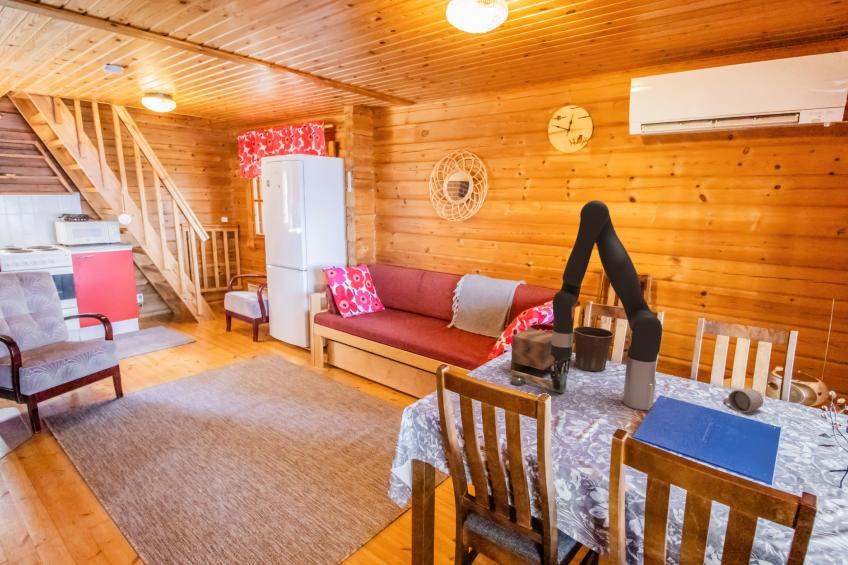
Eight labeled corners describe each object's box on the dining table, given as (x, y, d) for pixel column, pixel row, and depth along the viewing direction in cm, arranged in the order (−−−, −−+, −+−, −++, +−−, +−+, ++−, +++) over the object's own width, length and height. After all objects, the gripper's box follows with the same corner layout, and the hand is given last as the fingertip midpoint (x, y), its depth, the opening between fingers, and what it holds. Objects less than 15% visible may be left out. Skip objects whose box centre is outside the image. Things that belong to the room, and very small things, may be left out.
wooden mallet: (565, 389, 167) (567, 372, 166) (561, 393, 164) (562, 375, 163) (513, 374, 181) (514, 358, 180) (508, 377, 178) (509, 360, 177)
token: (526, 383, 175) (526, 377, 175) (521, 387, 171) (521, 381, 171) (514, 380, 178) (514, 374, 177) (509, 384, 174) (509, 378, 173)
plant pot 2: (538, 344, 224) (539, 321, 222) (560, 351, 214) (562, 327, 212) (521, 349, 216) (523, 325, 214) (544, 356, 206) (546, 331, 204)
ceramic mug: (763, 412, 154) (766, 391, 153) (749, 416, 150) (752, 394, 149) (731, 400, 163) (734, 380, 162) (717, 404, 160) (720, 383, 159)
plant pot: (616, 367, 194) (620, 331, 192) (601, 377, 183) (605, 339, 180) (580, 358, 205) (583, 324, 203) (564, 366, 194) (567, 330, 191)
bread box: (558, 371, 188) (561, 335, 185) (541, 383, 175) (544, 343, 173) (527, 363, 197) (529, 328, 194) (508, 373, 185) (510, 336, 182)
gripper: (563, 350, 156) (560, 396, 159) (579, 341, 166) (576, 384, 169) (543, 345, 161) (540, 390, 164) (560, 337, 171) (557, 379, 174)
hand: (558, 387), depth 166 cm, fingers closed on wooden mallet, 4 cm apart
